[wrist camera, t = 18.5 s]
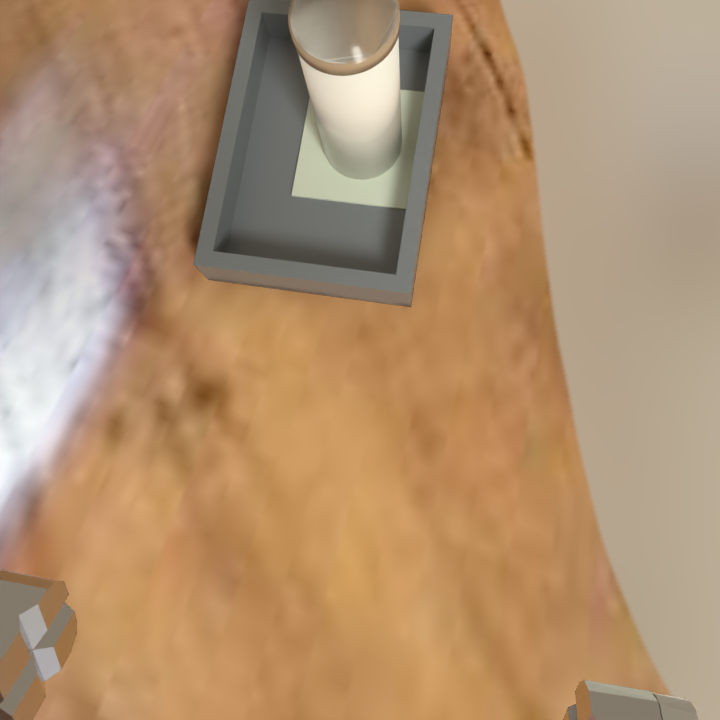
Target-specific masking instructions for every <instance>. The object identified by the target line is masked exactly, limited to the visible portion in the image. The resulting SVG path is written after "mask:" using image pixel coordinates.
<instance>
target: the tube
mask: <svg viewBox="0 0 720 720" xmlns="http://www.w3.org/2000/svg"><path fill="white" fill-rule="evenodd" d="M288 24H289V30H290V33H291V37H292V41H293V44H294V47H295V49H296V51H297V52H298V55H299V59H300V62H301V66H302V70H303V74H304V77H305V81H306V85H307V88H308V92H309V96H310V100H311V103H312V107H313V111H314V114H315V118H316V122H317V125H318V129H319V133H320V137H321V140H322V144H323V148H324V151H325V155H326V158H327V160H328V162H329V163H330V165H331V166H332V167H333V168H334V169H335V170H336V171H337V172H338V173H340V174H341V175H343V176H345V177H348V178H351V179H357V180H366V179H372V178H375V177H378V176H380V175H382V174H384V173H385V172H387V171H388V170H389V169H390V168H391V167H392V166H393V165H394V164H395V162H396V161H397V159H398V157H399V155H400V152H401V148H402V123H401V95H400V66H399V38H398V36H399V31H400V7H399V2H398V0H292V1H291V4H290V8H289V13H288Z"/></svg>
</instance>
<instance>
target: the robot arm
mask: <svg viewBox="0 0 720 720" xmlns="http://www.w3.org/2000/svg"><path fill="white" fill-rule="evenodd" d="M68 595H69V593H68V590H67V588H66V585H65V582H64V581H58V580H53V579H48V578H43V577H37V576H32V575H27V574H21V573H16V572H11V571H7V570H4V569H0V720H33V719H34V717H35V715H36V713H37V712H38V710H39V708H40V706H41V705H42V703H43V701H44V699H45V698H46V691H45V681H46V680H47V679H48V678H50V677H51V676H53V675H54V674H56V673H57V672H59V671H60V670H61V669H62V668H63V666H64V664H65V662H66V660H67V658H68V657H69V655H70V653H71V650H72V647H73V644H74V640H75V637H76V634H77V619H76V615H75V612H74V610H72V609H71V608H70V607H69V606H68V605H67V604H66V603H65V600H66V599H67V597H68ZM575 695H576V704H574V705H572V706H570V707H568V709H567V711H566V714H565V716H564V719H563V720H698V717H697V713H696V710H695V708H694V706H693V705H692V703H691V702H690V701H689V700H687V699H685V698H681V697H675V696H670V695H664V694H659V693H654V692H651V691H646V690H640V689H634V688H628V687H622V686H616V685H611V684H605V683H599V682H593V681H587V680H583V681H581V682H579V684H578V686H577V689H576V691H575Z"/></svg>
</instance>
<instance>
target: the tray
mask: <svg viewBox="0 0 720 720" xmlns="http://www.w3.org/2000/svg"><path fill="white" fill-rule="evenodd" d="M290 4H291V1H290V0H249V2H248V6H247V11H246V16H245V21H244V26H243V30H242V35H241V40H240V45H239V49H238V54H237V59H236V64H235V68H234V73H233V78H232V83H231V88H230V92H229V97H228V102H227V107H226V111H225V116H224V121H223V126H222V131H221V135H220V140H219V145H218V150H217V154H216V159H215V164H214V169H213V174H212V178H211V183H210V188H209V193H208V197H207V202H206V207H205V212H204V217H203V221H202V226H201V231H200V236H199V240H198V245H197V250H196V255H195V259H194V264H193V265H194V266H195V267H196V268H197V269H198V270H199V271H200V272H201V273H202V274H203V275H204V276H205V277H206V278H207V279H208V280H213V281H221V282H228V283H236V284H243V285H250V286H258V287H265V288H273V289H280V290H288V291H295V292H303V293H310V294H317V295H325V296H332V297H340V298H347V299H355V300H362V301H369V302H377V303H384V304H392V305H399V306H407V307H411V303H412V297H413V290H414V283H415V277H416V270H417V263H418V257H419V250H420V244H421V237H422V230H423V224H424V217H425V211H426V204H427V197H428V191H429V184H430V177H431V171H432V164H433V158H434V151H435V144H436V138H437V131H438V125H439V118H440V111H441V105H442V98H443V91H444V85H445V78H446V72H447V65H448V58H449V52H450V45H451V33H452V21H453V15H449V14H438V13H426V12H415V11H404V10H400V31H399V36H398V38H399V66H400V95H401V123H402V148H401V152H400V155H399V157H398V159H397V161H396V162H395V164H394V165H393V166H392V167H391V168H390V169H389V170H388V171H387V172H385V173H384V174H382V175H380V176H378V177H375V178H372V179H366V180H357V179H351V178H348V177H345V176H343V175H341V174H340V173H338V172H337V171H336V170H335V169H334V168H333V167H332V166H331V165H330V163H329V162H328V160H327V158H326V155H325V151H324V148H323V144H322V140H321V137H320V133H319V129H318V125H317V122H316V118H315V114H314V111H313V107H312V103H311V100H310V96H309V92H308V88H307V85H306V81H305V77H304V74H303V70H302V66H301V62H300V59H299V55H298V52H297V51H296V49H295V47H294V44H293V41H292V37H291V33H290V30H289V24H288V13H289V8H290Z"/></svg>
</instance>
